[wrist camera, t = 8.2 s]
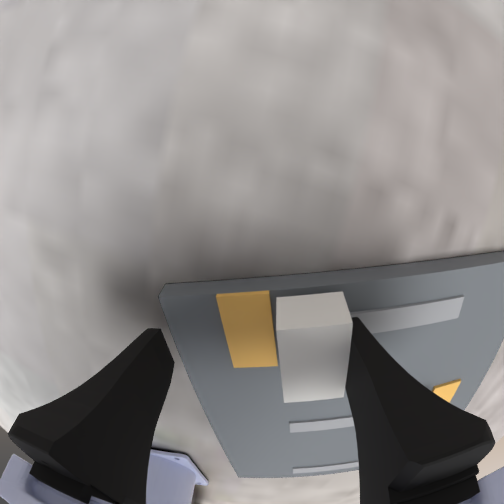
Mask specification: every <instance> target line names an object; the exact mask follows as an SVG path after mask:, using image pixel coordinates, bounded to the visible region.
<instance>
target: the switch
mask: <svg viewBox="0 0 504 504" xmlns="http://www.w3.org/2000/svg"><path fill="white" fill-rule="evenodd" d="M352 327H353V322H352V319H351V315H350V312H349V309H348V306H347V303H346V300H345V297H344V294H343V291H341V292H331V293H321V294H311V295H299V296H287V297H276V333H277V342H278V351H279V360H280V370H281V379H282V389H283V398H284V403H290V402H304V401H315V400H325V399H334V398H342V397H344V392H345V385H346V378H347V371H348V363H349V355H350V347H351V337H352Z"/></svg>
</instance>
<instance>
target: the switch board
mask: <svg viewBox="0 0 504 504" xmlns="http://www.w3.org/2000/svg"><path fill="white" fill-rule="evenodd" d="M341 291H343V294H344V297H345V300H346V303H347V306H348V309H349V312H350V315H351V318H353V317H358V318H359V319H360V320H361V321H362V322H363V324H364V325H365V326H366V327H367V329H368V330H369V331H370V332H371V334H372V335H373V336H374V337H375V338H376V340H377V341H378V342H379V343H380V344H381V345H382V346H383V348H384V349H385V350H386V351H387V352H388V353H389V354H390V355H391V356H392V357H393V358H394V359H395V360H396V361H397V362H398V363H399V364H400V365H401V366H402V367H403V368H404V369H405V370H406V371H407V372H408V373H409V374H410V375H411V376H413V377H414V378H415V379H416V380H417V381H419V382H420V383H421V384H422V385H424V386H425V387H426V388H428V389H429V390H431V391H432V392H434V393H435V394H437V395H438V396H440V397H441V398H443V399H444V400H446V401H447V402H449V403H451V404H453V405H454V406H456V407H458V408H460V409H462V410H465V408H466V407H467V405H468V404H469V402H470V401H471V399H472V397H473V396H474V394H475V392H476V391H477V389H478V387H479V386H480V384H481V382H482V380H483V379H484V377H485V375H486V373H487V371H488V369H489V368H490V366H491V364H492V362H493V360H494V358H495V356H496V354H497V352H498V350H499V348H500V345H501V343H502V341H503V339H504V251H500V252H493V253H486V254H478V255H471V256H463V257H455V258H447V259H439V260H431V261H423V262H414V263H406V264H397V265H388V266H378V267H369V268H359V269H349V270H339V271H329V272H318V273H307V274H296V275H284V276H272V277H259V278H246V279H233V280H219V281H204V282H189V283H173V284H165V286H164V288H163V289H162V291H161V293H160V294H159V296H158V298H159V301H160V304H161V307H162V309H163V312H164V315H165V318H166V320H167V323H168V326H169V329H170V331H171V334H172V337H173V339H174V342H175V344H176V347H177V349H178V352H179V354H180V357H181V359H182V362H183V364H184V367H185V369H186V371H187V374H188V376H189V378H190V381H191V383H192V385H193V388H194V390H195V392H196V394H197V397H198V399H199V401H200V403H201V405H202V407H203V410H204V412H205V414H206V416H207V418H208V420H209V422H210V424H211V426H212V428H213V430H214V432H215V434H216V436H217V438H218V440H219V442H220V444H221V446H222V448H223V450H224V452H225V454H226V456H227V457H228V459H229V461H230V463H231V465H232V467H233V468H234V470H235V472H236V474H237V476H238V477H244V478H283V477H302V476H315V475H325V474H334V473H341V472H348V471H355V470H359V461H358V449H357V440H356V431H355V426H354V421H353V417H352V413H351V409H350V405H349V401H348V397H347V393H346V389H345V392H344V397H342V398H334V399H325V400H315V401H304V402H290V403H284V398H283V389H282V379H281V370H280V360H279V351H278V342H277V333H276V297H287V296H299V295H311V294H321V293H331V292H341Z"/></svg>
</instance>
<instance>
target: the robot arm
mask: <svg viewBox="0 0 504 504" xmlns="http://www.w3.org/2000/svg"><path fill="white" fill-rule="evenodd" d="M351 319H352V322H353V327H352V337H351V347H350V355H349V363H348V371H347V378H346V385H345V389H346V393H347V397H348V401H349V405H350V409H351V413H352V417H353V421H354V426H355V431H356V440H357V449H358V461H359V477H360V504H504V467H502V468H500V469H498V470H496V471H494V472H493V473H491V474H489V475H487V476H485V477H483V478H481V479H480V480H478V481H477V478H476V475H477V474H478V473H479V469H478V466H477V464H478V463H479V462H480V461H481V460H482V459H483V458H484V457H485V456H486V455H487V454H488V453H489V452H490V451H491V450H492V448H493V447H494V444H495V440H494V438H493V435H492V432H491V429H490V427H489V425H488V424H487V422H486V420H484V419H482V418H480V417H477V416H475V415H473V414H470V413H468V412H466V411H464V410H462V409H460V408H458V407H456V406H454V405H453V404H451V403H449V402H447V401H446V400H444V399H443V398H441V397H440V396H438V395H437V394H435V393H434V392H432V391H431V390H429V389H428V388H426V387H425V386H424V385H422V384H421V383H420V382H419V381H417V380H416V379H415V378H414V377H413V376H411V375H410V374H409V373H408V372H407V371H406V370H405V369H404V368H403V367H402V366H401V365H400V364H399V363H398V362H397V361H396V360H395V359H394V358H393V357H392V356H391V355H390V354H389V353H388V352H387V351H386V350H385V349H384V348H383V346H382V345H381V344H380V343H379V342H378V341H377V340H376V338H375V337H374V336H373V335H372V334H371V332H370V331H369V330H368V329H367V327H366V326H365V325H364V324H363V322H362V321H361V320H360V319H359V318H358V317H353V318H351ZM174 363H175V362H174V360H173V358H172V355H171V353H170V351H169V348H168V346H167V343H166V341H165V338H164V336H163V333H162V331H161V329H156V328H148V329H147V330H145V331H144V332H143V333H142V334H141V335H140V336H139V337H137V338H136V339H135V340H134V341H133V342H132V343H131V344H130V345H129V346H128V347H127V348H126V349H125V350H123V351H122V352H121V353H120V354H119V355H118V356H117V357H116V358H115V359H114V360H112V361H111V362H110V363H109V364H108V365H107V366H105V367H104V368H103V369H102V370H101V371H99V372H98V373H97V374H96V375H94V376H93V377H92V378H90V379H89V380H88V381H86V382H85V383H83V384H82V385H81V386H79V387H77V388H76V389H74V390H72V391H71V392H69V393H67V394H66V395H64V396H62V397H60V398H58V399H56V400H54V401H52V402H50V403H48V404H46V405H43V406H41V407H38V408H36V409H33V410H30V411H27V412H24V413H21V414H19V415H18V417H17V419H16V420H15V422H14V424H13V426H12V427H11V429H10V431H9V433H8V435H9V437H10V439H11V440H12V441H13V442H14V443H15V444H16V445H17V446H18V447H19V448H21V450H22V451H24V452H25V453H26V454H27V455H28V456H29V457H31V458H32V459H33V460H34V461H35V462H34V464H33V465H31V464H30V463H28V462H27V461H25V460H24V459H22V458H20V457H18V456H17V455H15V454H12V456H11V458H10V460H9V462H8V464H7V466H6V468H5V471H4V472H3V475H2V477H1V479H0V496H1V497H2V498H3V499H5V500H6V501H7V502H8V503H10V504H191V501H192V496H193V491H194V486H195V484H198V485H208V483H209V482H208V481H207V479H206V478H205V477H204V476H203V475H202V473H201V472H200V471H199V470H198V468H197V467H196V466H195V465H194V463H193V462H192V461H191V460H190V458H189V457H188V456H187V455H184V454H178V453H171V452H165V451H158V450H153V449H151V446H152V441H153V436H154V431H155V428H156V424H157V421H158V418H159V415H160V413H161V410H162V407H163V404H164V401H165V398H166V395H167V392H168V389H169V386H170V383H171V379H172V374H173V368H174Z"/></svg>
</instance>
